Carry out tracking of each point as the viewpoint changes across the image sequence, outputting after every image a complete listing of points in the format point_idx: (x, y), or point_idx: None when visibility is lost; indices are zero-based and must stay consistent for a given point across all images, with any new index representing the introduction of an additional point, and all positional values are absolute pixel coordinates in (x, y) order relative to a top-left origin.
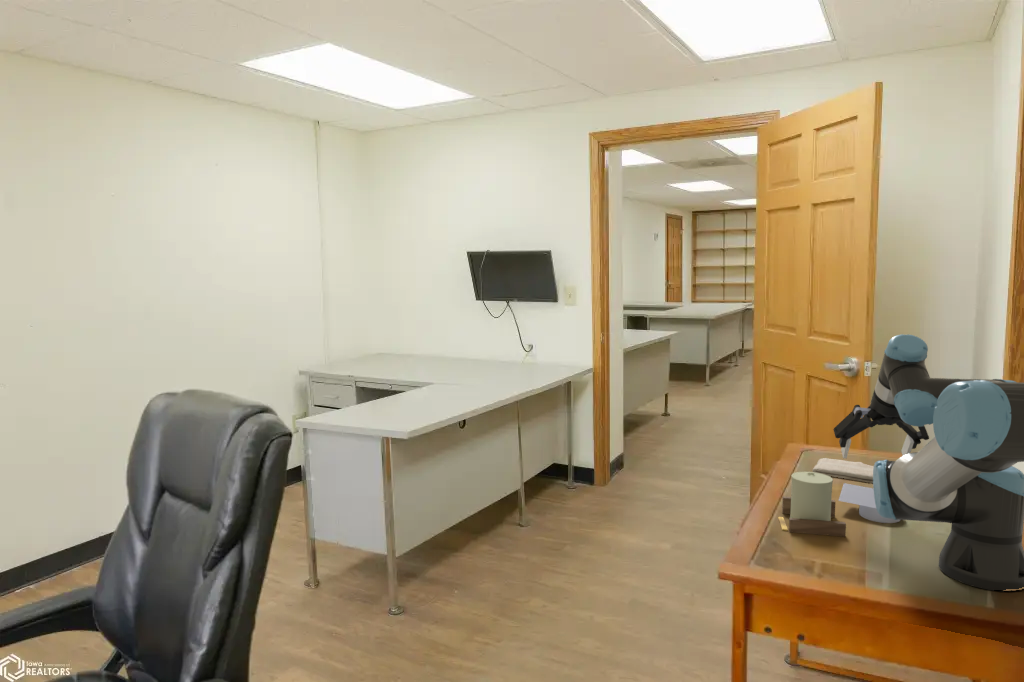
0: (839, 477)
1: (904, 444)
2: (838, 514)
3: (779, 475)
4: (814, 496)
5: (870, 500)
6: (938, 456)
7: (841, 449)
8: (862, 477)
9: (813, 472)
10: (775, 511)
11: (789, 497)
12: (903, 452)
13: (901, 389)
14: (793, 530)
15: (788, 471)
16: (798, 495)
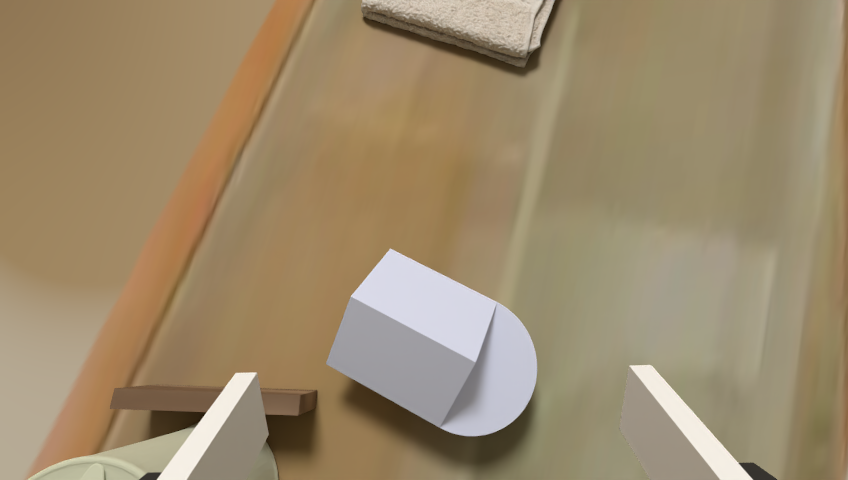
0: (430, 37)
1: (680, 445)
2: (336, 372)
3: (260, 45)
4: None
5: (428, 394)
6: None
7: (231, 386)
8: (490, 48)
9: (117, 467)
10: (134, 384)
11: (136, 397)
12: (639, 415)
13: None
14: None
15: (297, 9)
16: None
